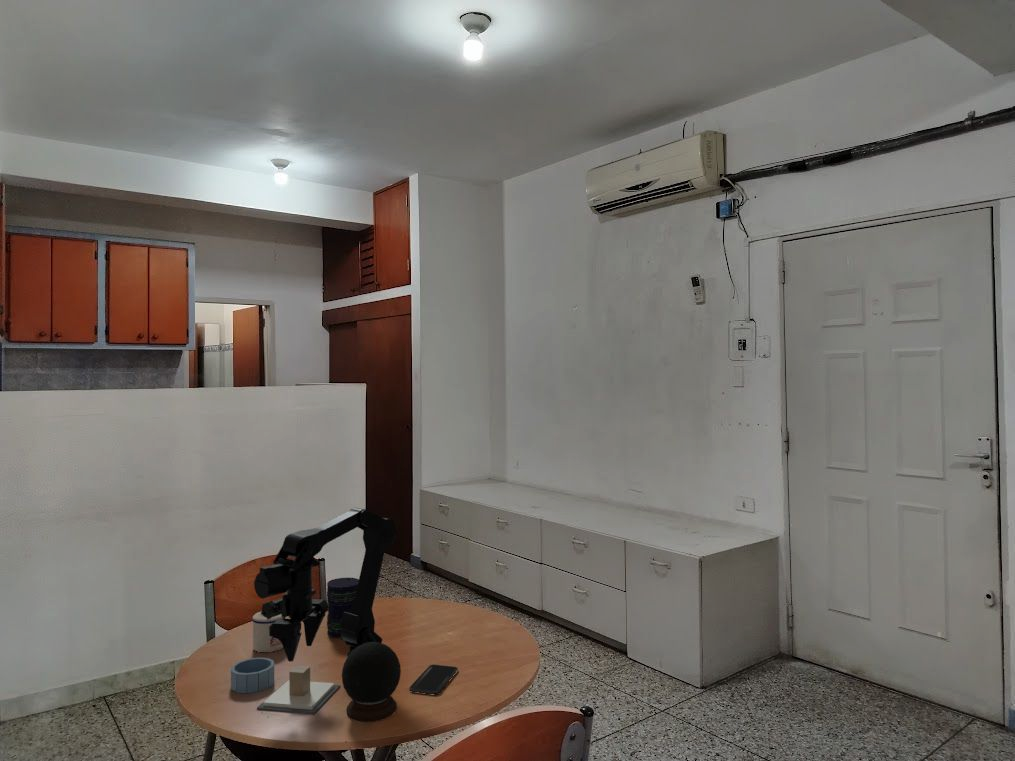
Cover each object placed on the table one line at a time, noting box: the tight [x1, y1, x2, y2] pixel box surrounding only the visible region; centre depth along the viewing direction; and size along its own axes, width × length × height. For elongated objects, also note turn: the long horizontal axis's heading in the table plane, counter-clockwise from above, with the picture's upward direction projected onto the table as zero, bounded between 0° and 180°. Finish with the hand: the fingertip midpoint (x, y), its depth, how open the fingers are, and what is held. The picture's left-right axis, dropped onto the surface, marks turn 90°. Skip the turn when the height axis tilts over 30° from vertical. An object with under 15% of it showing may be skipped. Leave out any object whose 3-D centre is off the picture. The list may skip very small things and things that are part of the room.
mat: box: [256, 680, 341, 715], centre depth 162 cm, size 14×14×1 cm
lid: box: [262, 665, 335, 710], centre depth 162 cm, size 12×12×6 cm
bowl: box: [230, 656, 275, 694], centre depth 169 cm, size 10×10×4 cm
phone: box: [409, 664, 459, 696], centre depth 170 cm, size 8×1×15 cm
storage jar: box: [326, 577, 359, 639], centre depth 204 cm, size 10×10×15 cm
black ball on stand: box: [341, 642, 402, 723], centre depth 155 cm, size 13×13×15 cm
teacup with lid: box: [251, 610, 287, 653], centre depth 194 cm, size 12×9×12 cm
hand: (300, 653), depth 162 cm, fingers open, 9 cm apart
